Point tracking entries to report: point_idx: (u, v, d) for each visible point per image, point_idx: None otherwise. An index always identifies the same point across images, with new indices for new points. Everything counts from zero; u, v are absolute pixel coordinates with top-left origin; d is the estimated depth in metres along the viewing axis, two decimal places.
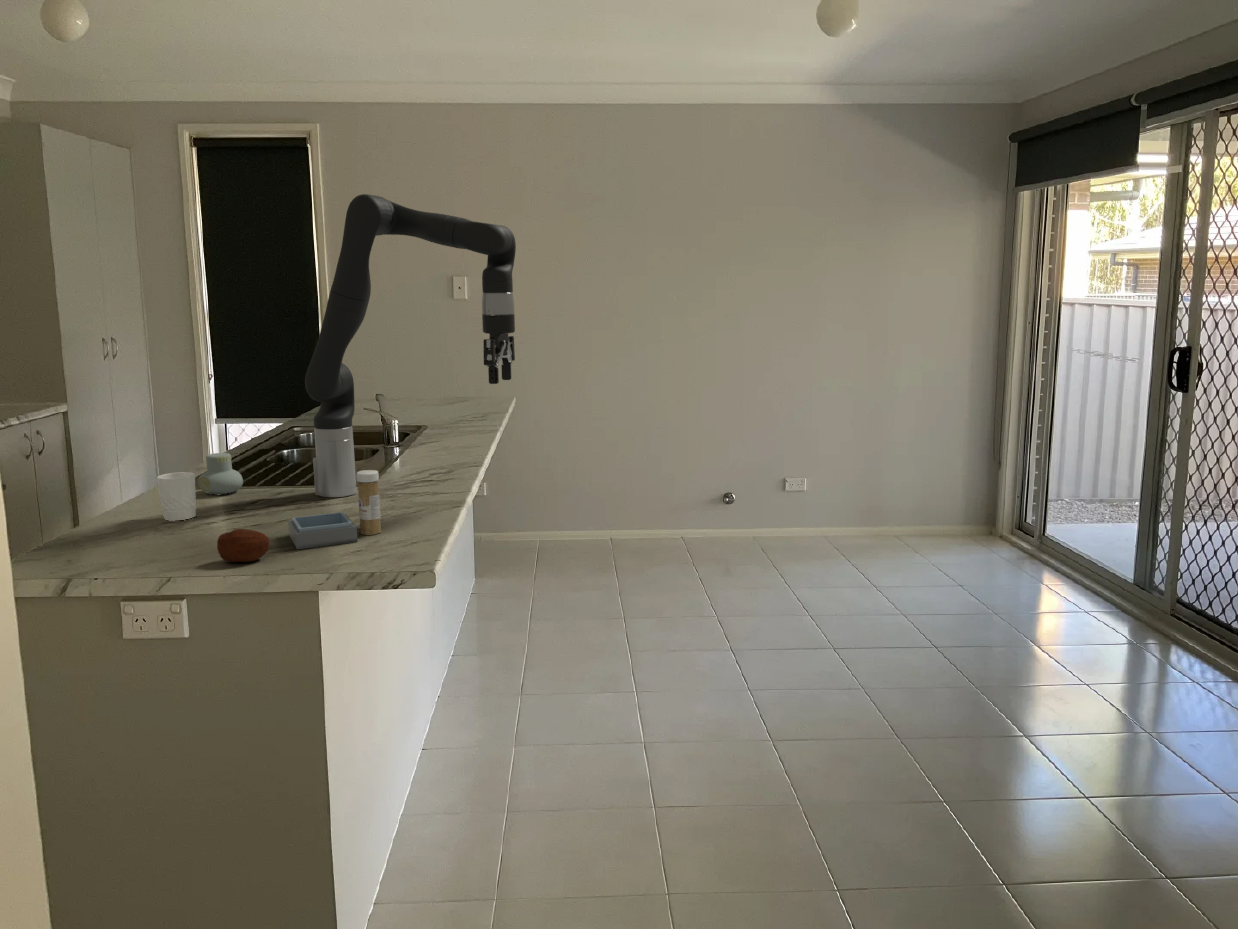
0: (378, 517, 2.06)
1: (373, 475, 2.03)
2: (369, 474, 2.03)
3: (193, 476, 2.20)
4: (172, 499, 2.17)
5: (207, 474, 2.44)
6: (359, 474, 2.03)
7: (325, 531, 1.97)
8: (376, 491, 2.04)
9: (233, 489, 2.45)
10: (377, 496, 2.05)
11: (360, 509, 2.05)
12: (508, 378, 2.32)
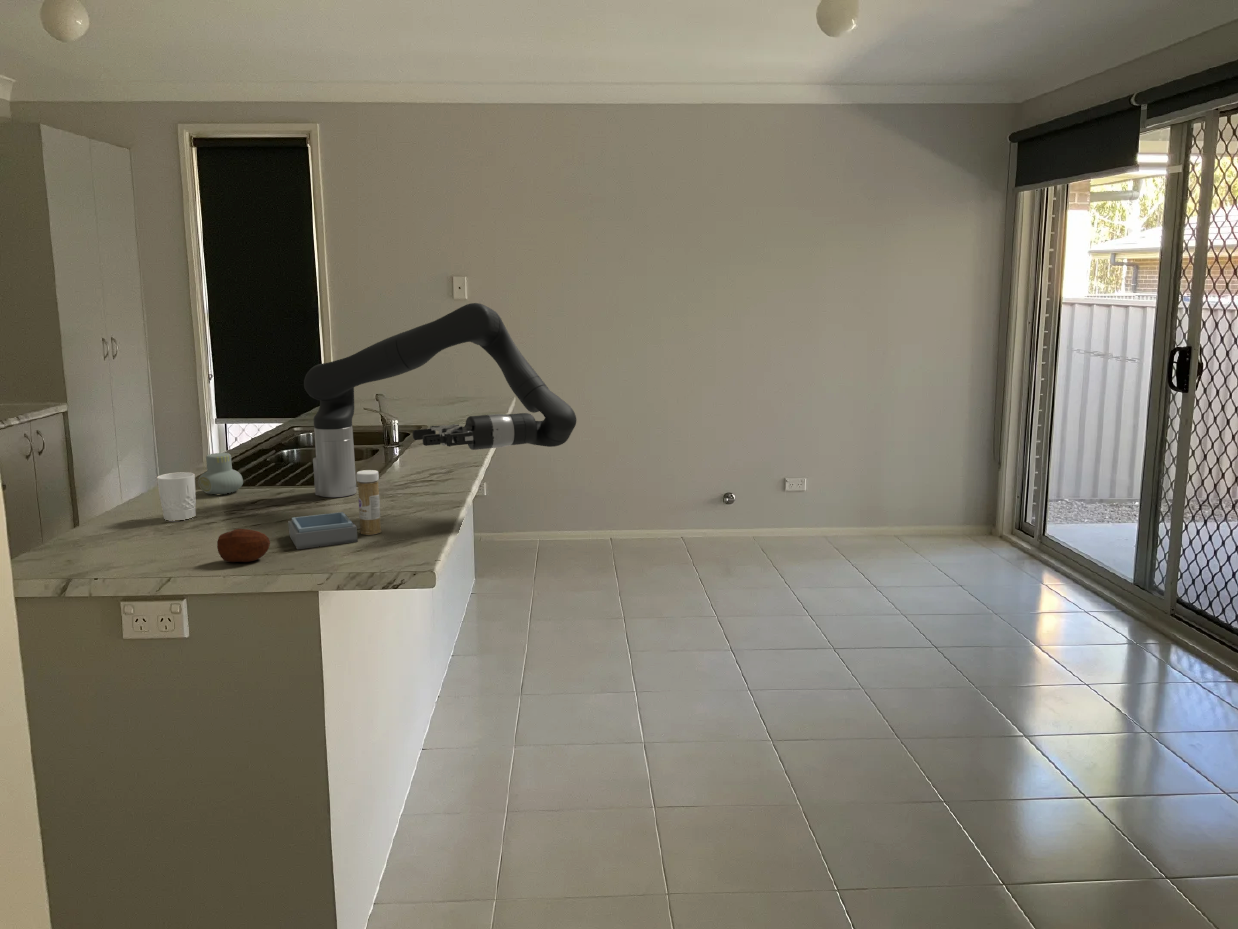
0: (378, 517, 2.06)
1: (373, 475, 2.03)
2: (369, 474, 2.03)
3: (193, 476, 2.20)
4: (172, 499, 2.17)
5: (207, 474, 2.44)
6: (359, 474, 2.03)
7: (325, 531, 1.97)
8: (376, 491, 2.04)
9: (233, 489, 2.45)
10: (377, 496, 2.05)
11: (360, 509, 2.05)
12: (415, 437, 2.12)
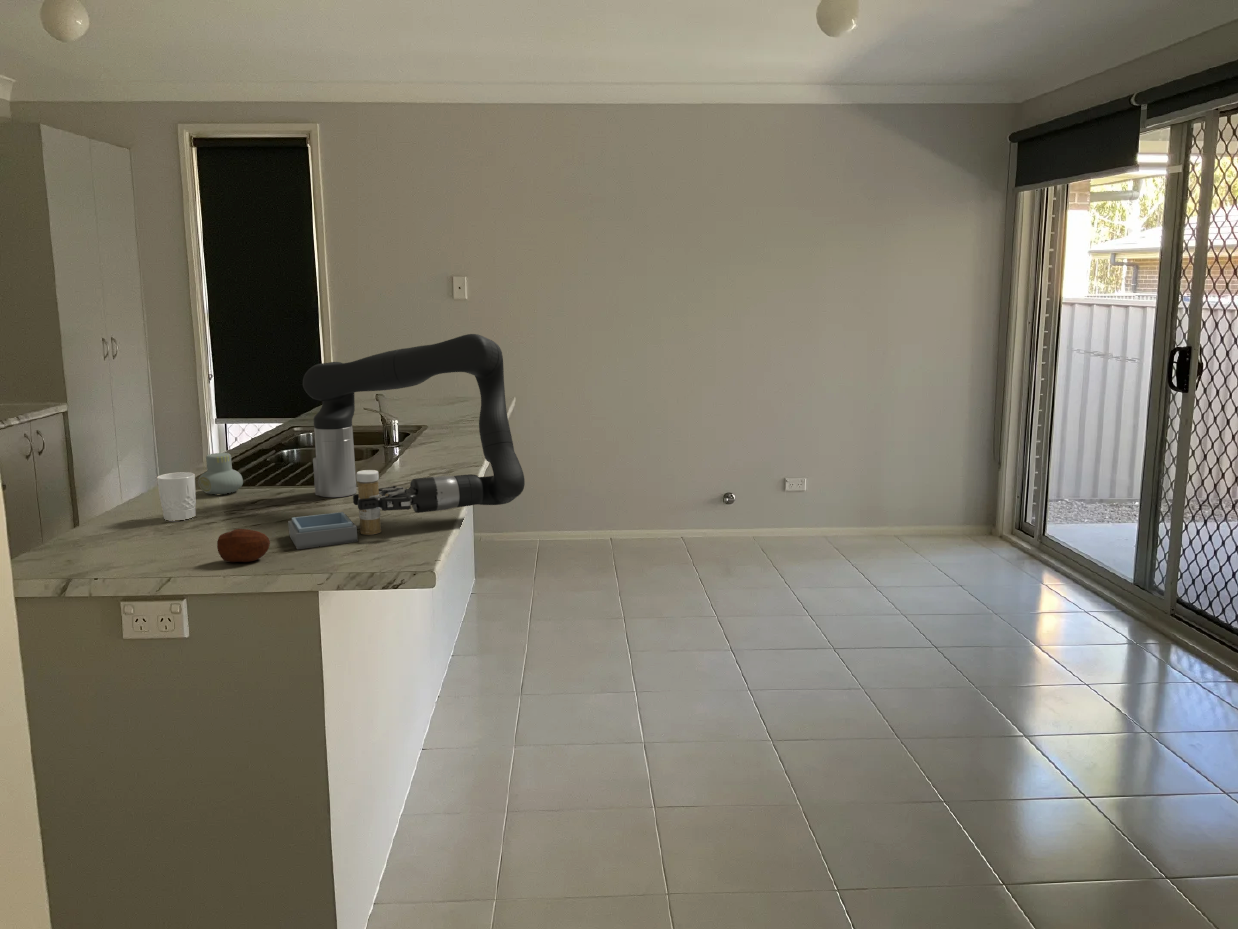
0: (378, 517, 2.06)
1: (373, 475, 2.03)
2: (369, 474, 2.03)
3: (193, 476, 2.20)
4: (172, 499, 2.17)
5: (207, 474, 2.44)
6: (359, 474, 2.03)
7: (325, 531, 1.97)
8: (376, 491, 2.04)
9: (233, 489, 2.45)
10: (377, 496, 2.05)
11: None
12: (355, 502, 2.07)
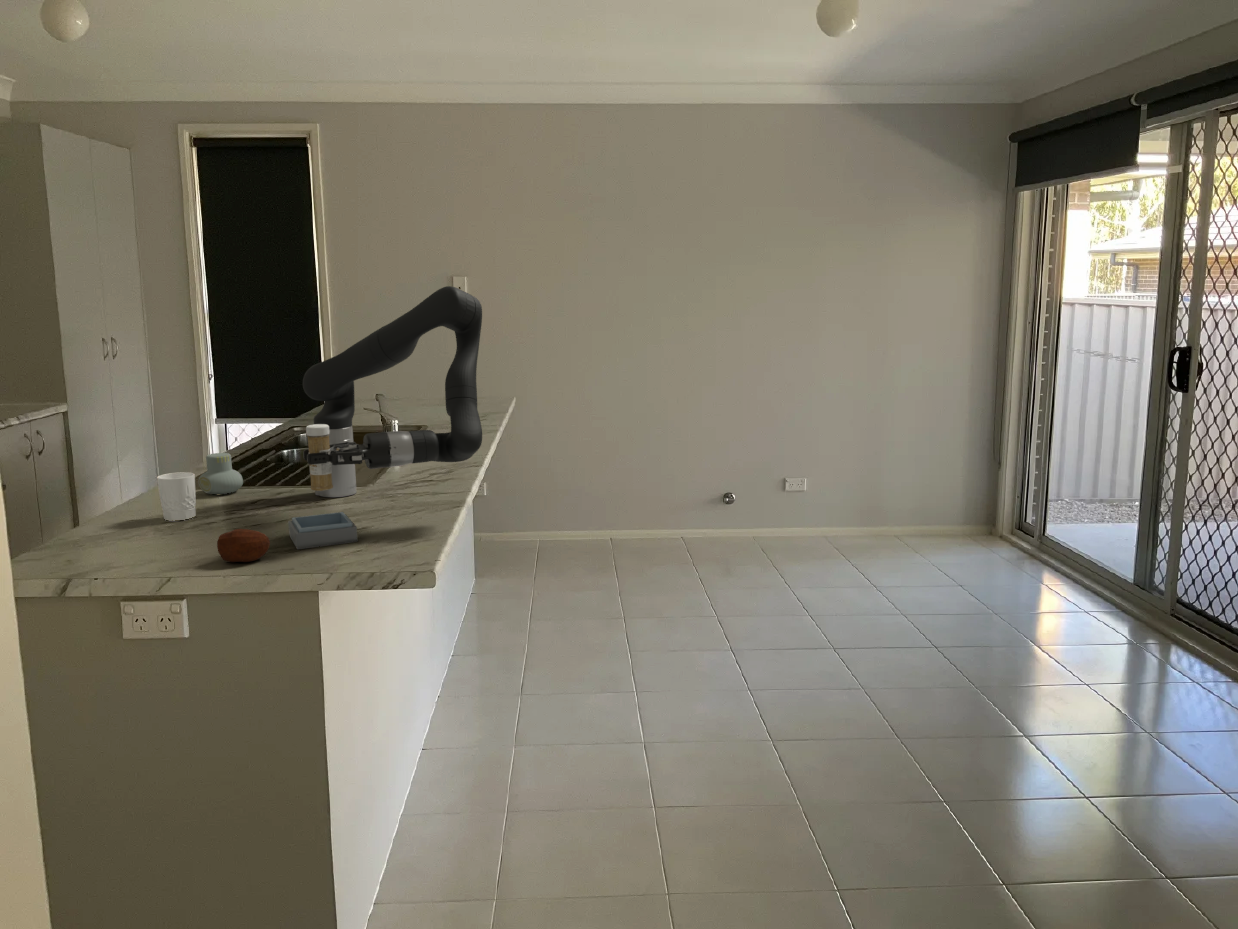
0: (329, 472, 2.00)
1: (323, 428, 1.97)
2: (319, 427, 1.97)
3: (193, 476, 2.20)
4: (172, 499, 2.17)
5: (207, 474, 2.44)
6: (308, 428, 1.97)
7: (325, 531, 1.97)
8: (327, 445, 1.98)
9: (233, 489, 2.45)
10: None
11: None
12: (306, 458, 2.01)
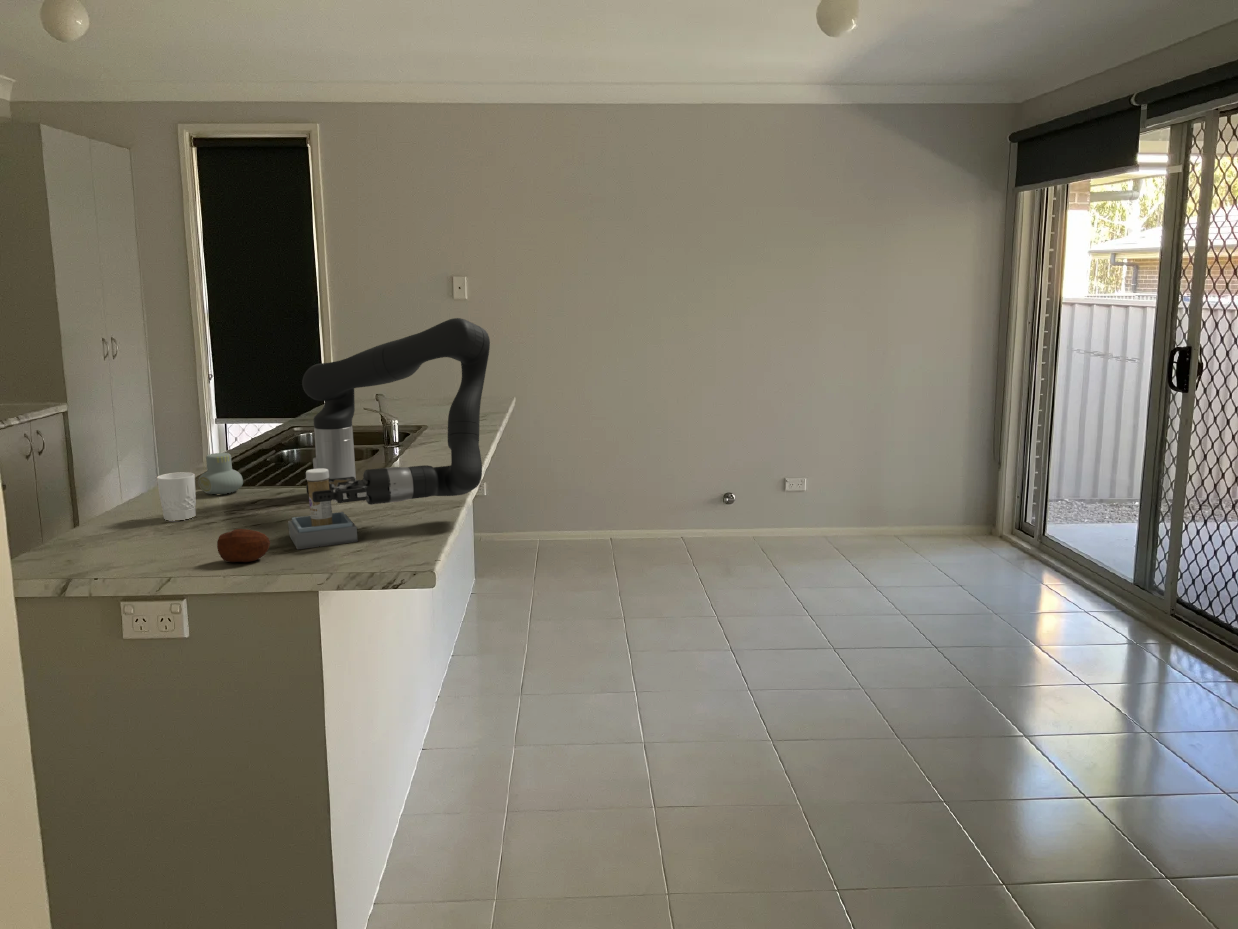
0: (329, 516, 2.01)
1: (323, 473, 1.99)
2: (318, 472, 1.98)
3: (193, 476, 2.20)
4: (172, 499, 2.17)
5: (207, 474, 2.44)
6: (308, 472, 1.99)
7: (325, 531, 1.97)
8: (326, 489, 2.00)
9: (233, 489, 2.45)
10: None
11: (311, 508, 2.00)
12: None
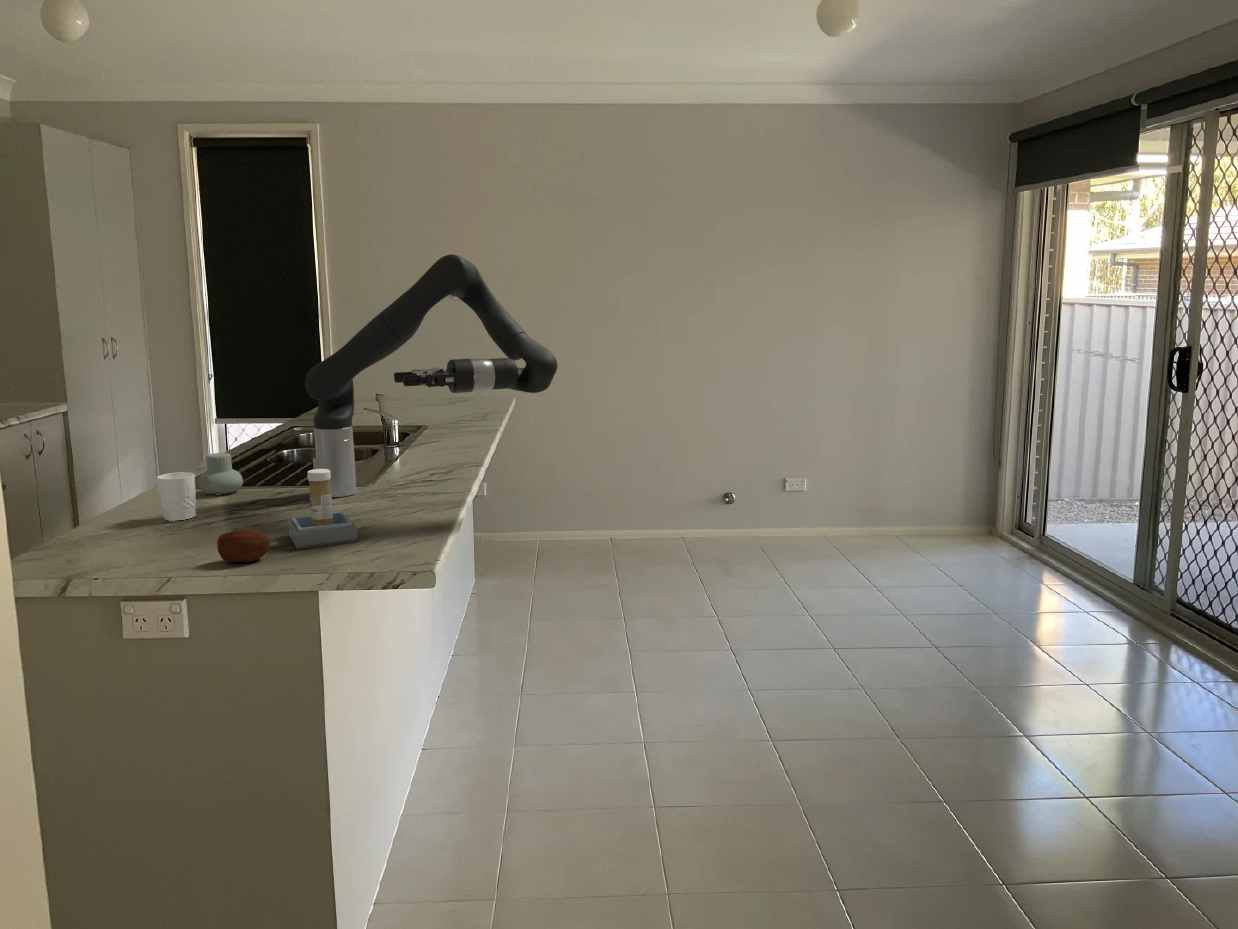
0: (330, 517, 2.01)
1: (325, 474, 1.99)
2: (320, 473, 1.98)
3: (193, 476, 2.20)
4: (172, 499, 2.17)
5: (207, 474, 2.44)
6: (310, 473, 1.98)
7: (325, 531, 1.97)
8: (328, 490, 2.00)
9: (233, 489, 2.45)
10: (329, 495, 2.00)
11: (311, 509, 2.00)
12: (396, 380, 2.13)
